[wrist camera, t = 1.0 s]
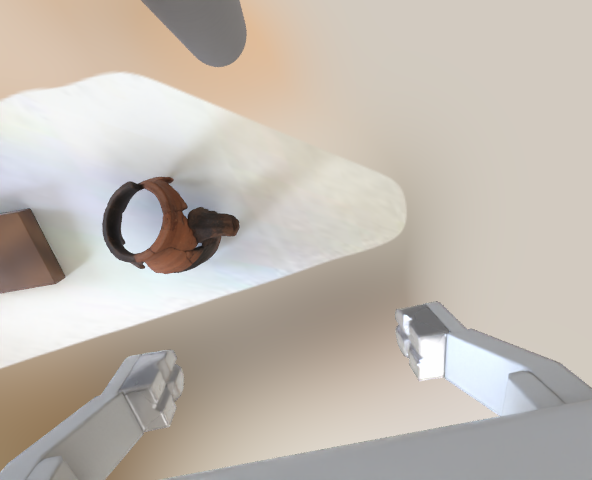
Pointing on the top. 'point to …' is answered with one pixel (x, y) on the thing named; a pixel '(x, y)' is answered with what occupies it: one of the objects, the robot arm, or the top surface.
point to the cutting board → (25, 254)
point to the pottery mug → (168, 229)
